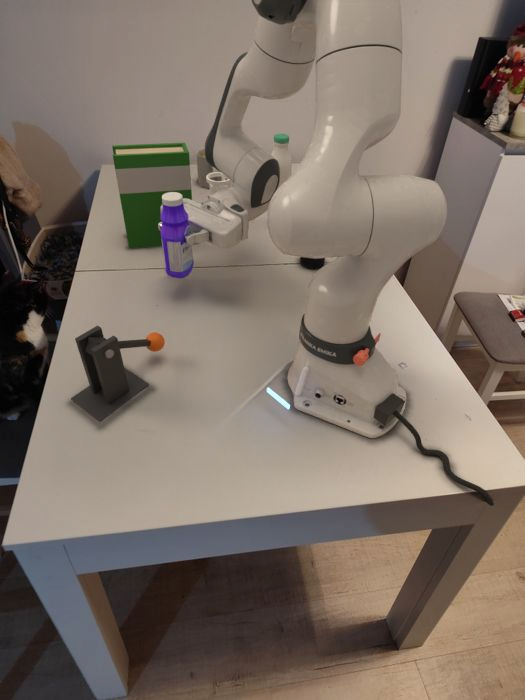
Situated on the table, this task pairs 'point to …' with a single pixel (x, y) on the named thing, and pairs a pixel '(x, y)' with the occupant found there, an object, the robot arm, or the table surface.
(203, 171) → the coffee mug
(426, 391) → the table surface
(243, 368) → the table surface
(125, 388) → the dark grey lever stand
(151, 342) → the switch
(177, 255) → the bottle
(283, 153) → the milk bottle
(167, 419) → the table surface
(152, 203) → the hardback book
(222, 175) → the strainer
